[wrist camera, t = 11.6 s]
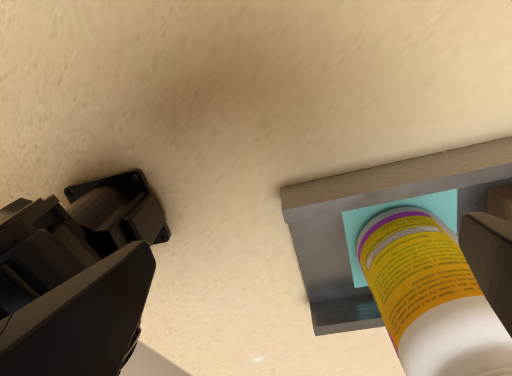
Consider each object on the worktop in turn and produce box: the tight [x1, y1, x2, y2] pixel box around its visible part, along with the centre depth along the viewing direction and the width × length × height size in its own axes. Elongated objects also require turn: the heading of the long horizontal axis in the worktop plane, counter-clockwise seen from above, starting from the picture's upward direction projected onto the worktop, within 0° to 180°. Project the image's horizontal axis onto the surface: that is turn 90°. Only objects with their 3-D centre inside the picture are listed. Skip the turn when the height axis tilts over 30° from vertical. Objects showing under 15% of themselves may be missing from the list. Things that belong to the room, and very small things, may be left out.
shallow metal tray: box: [281, 137, 512, 336], centre depth 22 cm, size 22×12×4 cm, turn 105°
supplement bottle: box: [356, 207, 512, 376], centre depth 17 cm, size 7×7×13 cm
